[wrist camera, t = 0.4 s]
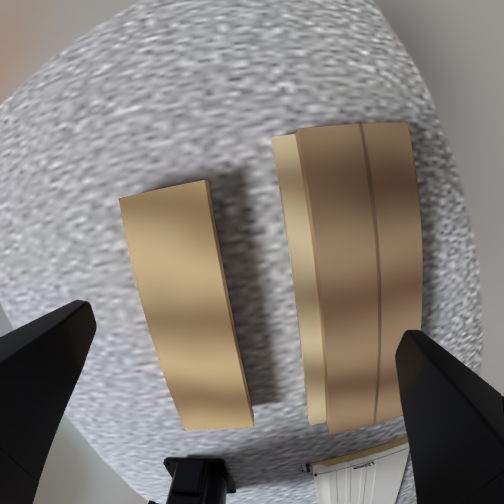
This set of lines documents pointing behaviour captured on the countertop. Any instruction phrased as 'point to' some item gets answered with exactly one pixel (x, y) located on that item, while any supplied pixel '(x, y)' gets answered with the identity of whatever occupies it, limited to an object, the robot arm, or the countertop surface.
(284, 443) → the countertop surface
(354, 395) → the floor board
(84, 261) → the countertop surface
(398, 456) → the baseboard molding
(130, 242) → the plank
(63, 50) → the countertop surface
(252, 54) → the countertop surface
